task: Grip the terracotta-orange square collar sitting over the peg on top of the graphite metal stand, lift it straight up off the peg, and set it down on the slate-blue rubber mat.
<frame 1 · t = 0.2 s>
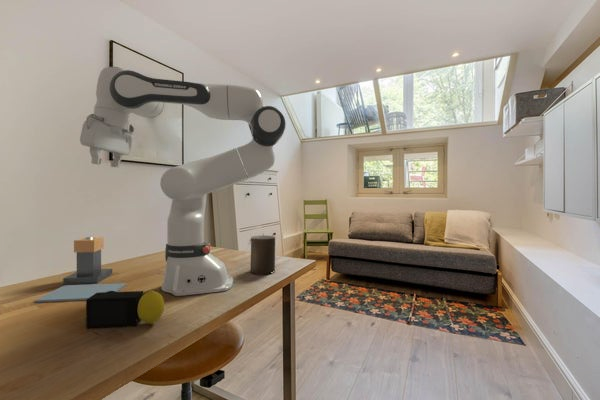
hand: (105, 165, 85), 39 cm above the table, tool pointing down, fingers open, 8 cm apart
black rectangular box: (117, 323, 65), on the table
stand: (89, 278, 95), on the table
pillar candle: (262, 271, 109), on the table
collar: (89, 250, 95), point 10 cm above the table, touching stand
lemon: (151, 324, 64), on the table
mat: (84, 292, 82), on the table
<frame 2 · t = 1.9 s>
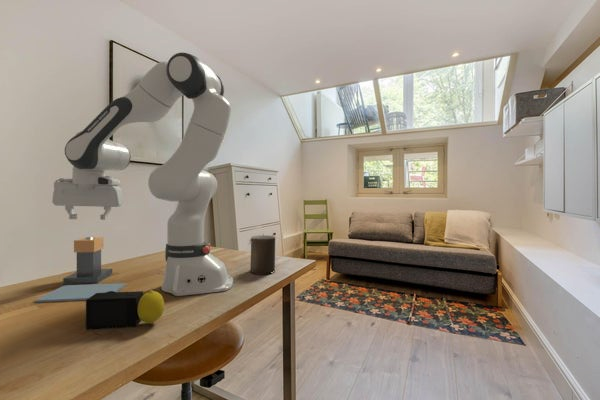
hand: (88, 219, 94), 21 cm above the table, tool pointing down, fingers open, 8 cm apart
nothing on the table moved.
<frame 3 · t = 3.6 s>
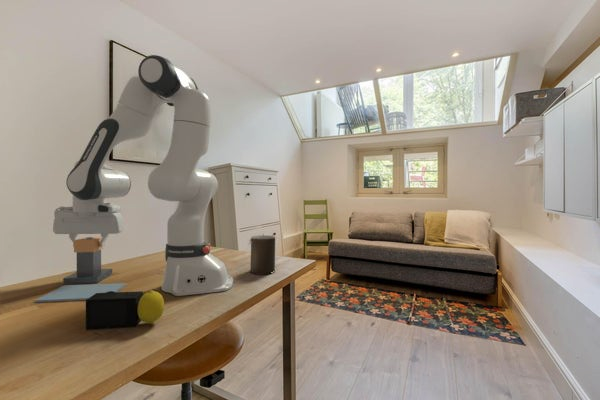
hand: (89, 246, 95), 11 cm above the table, tool pointing down, fingers closed on collar, 6 cm apart
collar: (89, 250, 95), point 10 cm above the table, touching gripper, stand
everything else where it was.
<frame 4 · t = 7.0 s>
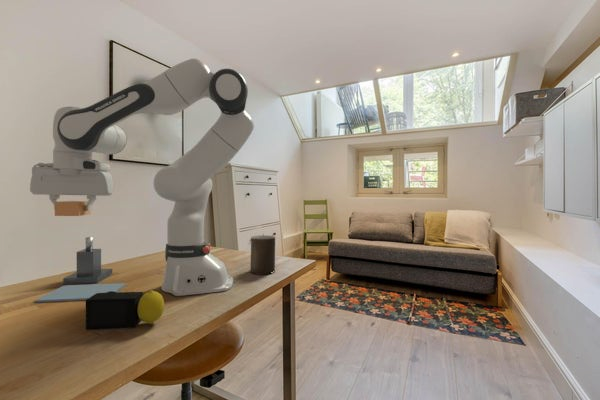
hand: (73, 210, 81), 25 cm above the table, tool pointing down, fingers closed on collar, 6 cm apart
collar: (73, 214, 81), point 24 cm above the table, touching gripper
everything else where it was.
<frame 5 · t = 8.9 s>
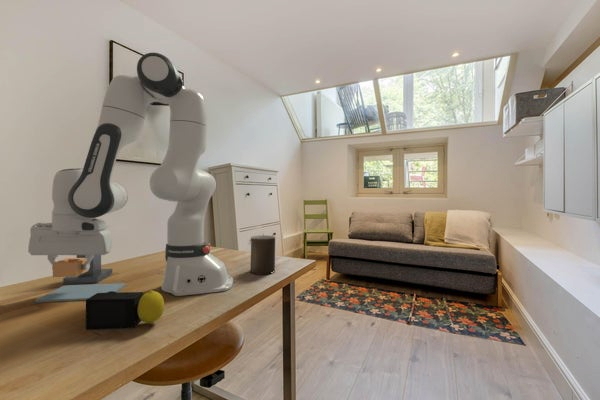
hand: (71, 269, 81), 7 cm above the table, tool pointing down, fingers closed on collar, 6 cm apart
collar: (71, 273, 81), point 6 cm above the table, touching gripper
everything else where it was.
when the fingers open (3 cm above the table, at t = 10.4 s): collar stays where it is, resting on mat.
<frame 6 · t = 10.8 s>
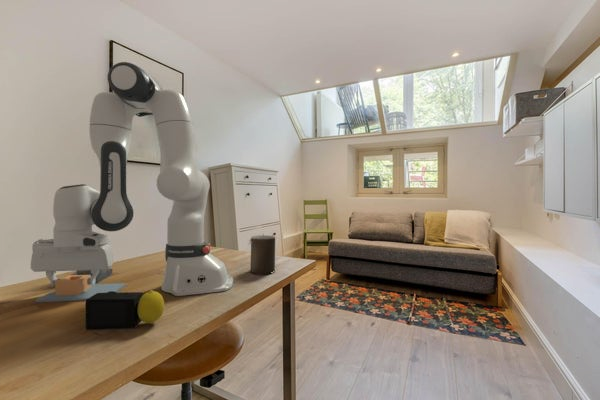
hand: (73, 284, 82), 3 cm above the table, tool pointing down, fingers open, 8 cm apart
black rectangular box: (117, 324, 64), on the table, touching lemon
collar: (73, 291, 82), point 1 cm above the table, touching mat
lemon: (151, 324, 64), on the table, touching black rectangular box
everything else where it was.
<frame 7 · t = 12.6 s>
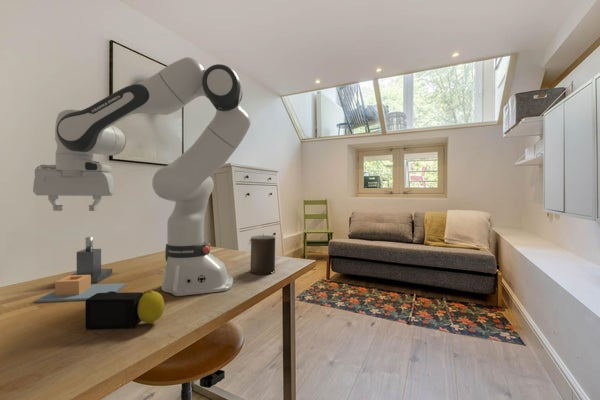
hand: (75, 210, 83), 25 cm above the table, tool pointing down, fingers open, 8 cm apart
nothing on the table moved.
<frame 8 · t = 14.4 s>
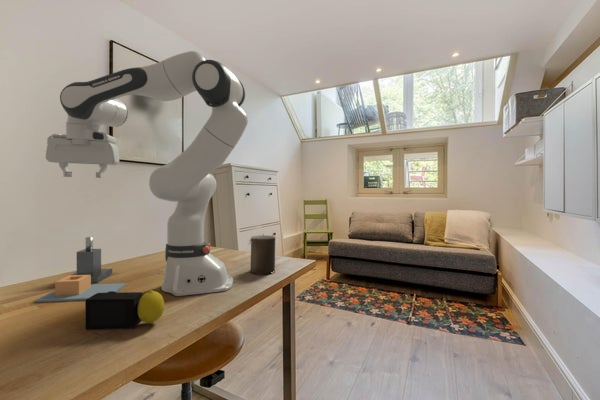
hand: (83, 177, 91), 35 cm above the table, tool pointing down, fingers open, 8 cm apart
nothing on the table moved.
at the end: collar inside the target area on the mat (2.0 cm from its centre), point 0.6 cm above the mat's base; collar tilted 0°; the gripper is holding nothing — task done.
